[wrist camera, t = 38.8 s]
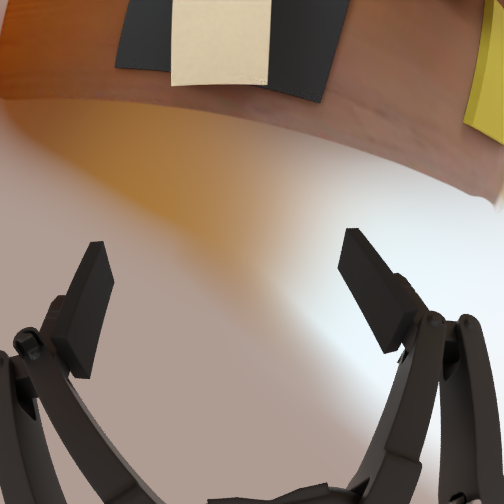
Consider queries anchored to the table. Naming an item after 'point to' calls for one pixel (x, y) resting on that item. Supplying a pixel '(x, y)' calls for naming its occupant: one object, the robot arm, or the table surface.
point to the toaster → (220, 42)
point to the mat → (280, 47)
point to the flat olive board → (489, 77)
